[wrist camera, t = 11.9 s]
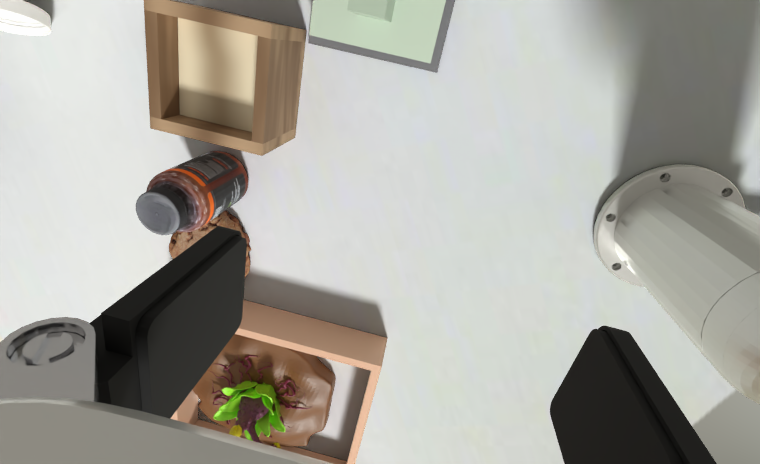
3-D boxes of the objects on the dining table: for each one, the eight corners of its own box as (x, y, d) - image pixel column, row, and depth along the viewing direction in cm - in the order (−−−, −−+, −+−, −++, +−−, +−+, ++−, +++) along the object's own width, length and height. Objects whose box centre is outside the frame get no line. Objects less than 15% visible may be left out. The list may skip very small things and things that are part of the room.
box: (306, 30, 36) (271, 24, 29) (294, 137, 40) (262, 155, 33) (203, 6, 36) (143, -6, 29) (202, 115, 41) (150, 128, 33)
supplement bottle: (195, 147, 42) (115, 176, 32) (247, 151, 42) (182, 181, 31) (204, 200, 45) (132, 242, 35) (253, 204, 44) (195, 248, 34)
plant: (356, 362, 52) (335, 436, 42) (311, 448, 60) (285, 527, 50) (216, 302, 51) (160, 362, 41) (190, 397, 60) (139, 467, 50)
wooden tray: (387, 337, 49) (381, 366, 44) (352, 467, 60) (344, 500, 56) (190, 285, 50) (165, 308, 46) (192, 421, 61) (172, 450, 57)
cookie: (257, 215, 45) (245, 226, 42) (251, 290, 50) (240, 304, 47) (175, 194, 45) (158, 203, 43) (177, 271, 50) (161, 283, 47)
